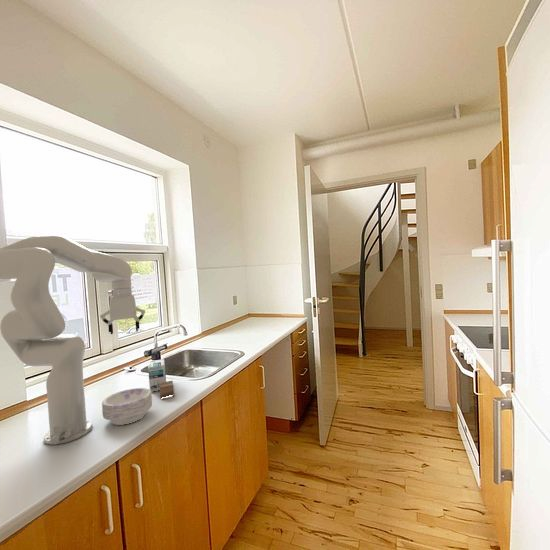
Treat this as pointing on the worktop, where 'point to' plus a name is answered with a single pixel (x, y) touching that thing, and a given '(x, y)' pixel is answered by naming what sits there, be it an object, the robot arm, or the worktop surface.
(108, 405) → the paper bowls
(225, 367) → the worktop surface
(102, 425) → the worktop surface
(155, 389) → the light bulb box
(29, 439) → the worktop surface
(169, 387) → the walnut cube
